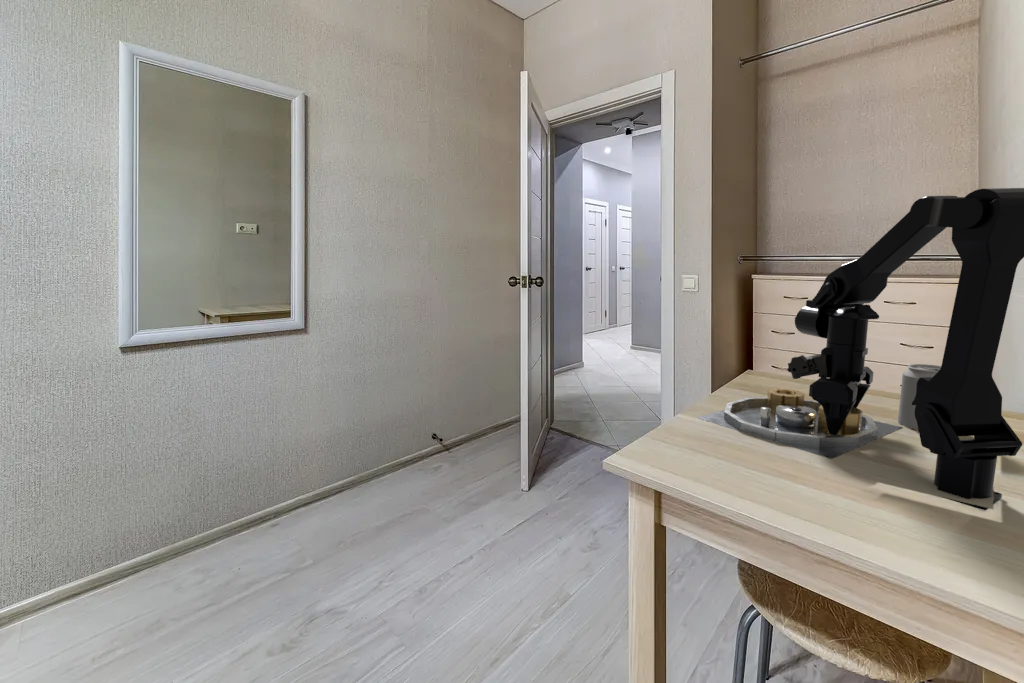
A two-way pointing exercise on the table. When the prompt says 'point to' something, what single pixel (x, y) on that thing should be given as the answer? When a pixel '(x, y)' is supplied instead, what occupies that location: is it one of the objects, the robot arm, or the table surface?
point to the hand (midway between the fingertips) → (838, 427)
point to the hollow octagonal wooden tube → (849, 425)
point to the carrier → (762, 423)
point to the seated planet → (784, 398)
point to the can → (912, 392)
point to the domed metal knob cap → (795, 416)
